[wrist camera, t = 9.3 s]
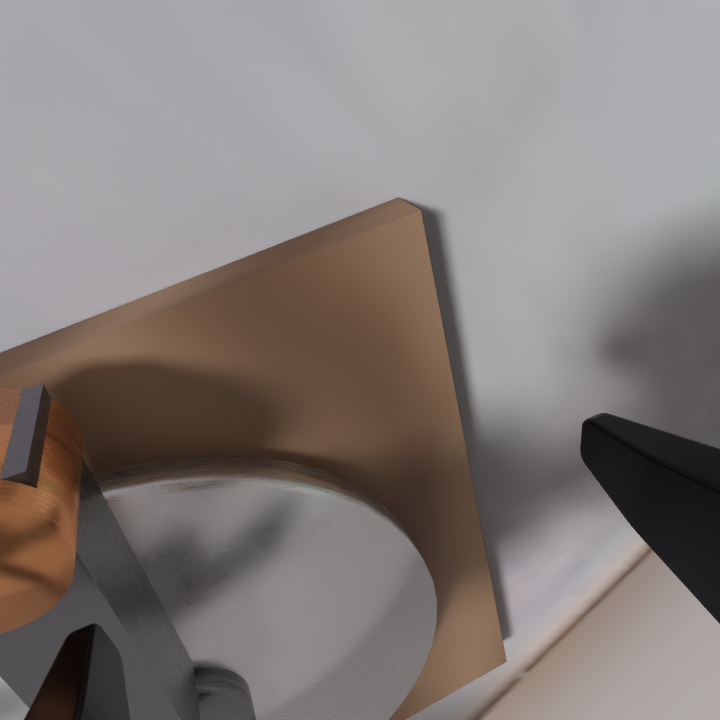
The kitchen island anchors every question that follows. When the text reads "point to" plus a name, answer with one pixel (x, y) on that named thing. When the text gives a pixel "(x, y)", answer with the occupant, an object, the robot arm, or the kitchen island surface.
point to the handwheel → (204, 579)
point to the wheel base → (300, 397)
